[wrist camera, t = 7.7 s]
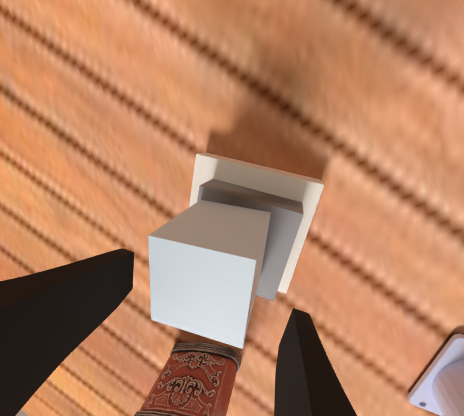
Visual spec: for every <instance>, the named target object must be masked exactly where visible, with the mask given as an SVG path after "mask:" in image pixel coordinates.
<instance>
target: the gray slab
mask: <svg viewBox="0 0 464 416" xmlns="http://www.w3.org/2000/svg"><path fill="white" fill-rule="evenodd" d="M199 200H205V201H211V202H216V203H222V204H227V205H233V206H239V207H244V208H250V209H255V210H261V211H266V212H271V216H270V222H269V228H268V234H267V240H266V246H265V252H264V258H263V264H262V271H261V276H260V280H259V284H258V288H257V293H256V295H257V296H260V297H263V298H265V299H268V300H271V301H274V299H275V296H276V293H277V290H278V287H279V285H280V282H281V279H282V276H283V273H284V270H285V267H286V264H287V261H288V258H289V255H290V253H291V250H292V247H293V244H294V241H295V238H296V235H297V232H298V229H299V226H300V223H301V221H302V218H303V215H304V213H303V204H302V202H299V201H295V200H291V199H287V198H284V197H280V196H276V195H273V194H269V193H265V192H261V191H258V190H254V189H250V188H246V187H243V186H239V185H235V184H232V183H228V182H224V181H220V180H217V179H211V180H209V181H207V182H205V183H203V184H201V185H200V186H199V192H198V199H197V202H198V201H199Z"/></svg>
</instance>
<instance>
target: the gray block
mask: <svg viewBox="0 0 464 416" xmlns="http://www.w3.org/2000/svg"><path fill="white" fill-rule="evenodd" d="M270 216H271V212H266V211H261V210H255V209H250V208H244V207H239V206H233V205H227V204H222V203H216V202H211V201H205V200H199V201H198V202H197V203H195V204H194V205H192V206H191V207H189V208H188V209H186V210H185V211H183V212H182V213H181V214H179V215H178V216H176V217H175V218H173V219H172V220H170V221H169V222H167V223H166V224H164V225H163V226H162V227H160V228H159V229H157V230H156V231H154V232H153V233H151V234H150V235H148V237H149V267H150V296H151V320H154V321H157V322H160V323H163V324H166V325H169V326H172V327H175V328H179V329H182V330H185V331H188V332H191V333H194V334H197V335H200V336H204V337H207V338H210V339H213V340H216V341H219V342H222V343H225V344H229V345H232V346H235V347H238V348H241V349H243V345H244V341H245V337H246V333H247V329H248V325H249V321H250V317H251V313H252V309H253V305H254V301H255V297H256V293H257V288H258V284H259V280H260V276H261V271H262V264H263V258H264V252H265V246H266V240H267V234H268V228H269V222H270Z"/></svg>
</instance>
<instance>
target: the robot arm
mask: <svg viewBox="0 0 464 416" xmlns="http://www.w3.org/2000/svg"><path fill="white" fill-rule="evenodd" d="M133 267H134V252H132V251H129V250H126V249H123V248H122V249H118V250H114V251H110V252H107V253H104V254H100V255H97V256H94V257H91V258H87V259H84V260H81V261H77V262H74V263H71V264H67V265H64V266H60V267H57V268H53V269H49V270H46V271H42V272H38V273H35V274H31V275H27V276H23V277H18V278H14V279H9V280H5V281H0V416H15V415H16V414H17V413H18V412H19V411H20V410H21V408H22V407H23V406H24V405H25V404H26V402H27V401H28V400H29V399H30V398H31V396H32V395H33V394H34V393H35V392H36V391H37V389H38V388H39V387H40V386H41V385H42V384H43V383H44V382H45V380H46V379H47V378H48V377H49V376H50V375H51V374H52V372H53V371H54V370H55V369H56V368H57V367H58V366H59V365H60V363H61V362H62V361H63V360H64V359H65V358H66V357H67V356H68V355H69V354H70V353H71V352H72V351H73V350H74V349H75V348H76V347H77V346H78V345H79V344H80V343H81V342H83V341H84V340H85V339H86V338H87V337H88V336H89V335H90V334H91V333H92V332H93V331H94V330H95V329H96V328H97V327H98V326H99V325H100V324H101V323H102V322H103V321H104V320H105V319H106V318H107V317H108V316H109V315H110V314H111V313H112V312H113V311H114V310H115V309H116V308H117V307H118V306H119V305H120V303H121V302H122V301H123V300H124V299H125V297H126V296H127V295H128V294H129V292H130V291H131V290H132V288H133ZM407 397H408V400H409V402H410V403H411V404H413V405H415V406H418V407H420V408H423V409H425V410H428V411H430V412H433V413H436V414H438V415H441V416H464V335H463V334H455V335H453V336H452V337H451V338H450V340H449V341H448V342H447V344H446V345H445V346H444V348H443V349H442V350H441V352H440V353H439V354H438V356H437V357H436V358H435V360H434V361H433V362H432V364H431V365H430V366H429V368H428V369H427V370H426V372H425V373H424V374H423V376H422V377H421V378H420V380H419V381H418V382H417V384H416V385H415V386H414V388H413V389H412V390H411V391H410V393H409V394H408V396H407ZM274 416H357V415H356V413H355V411H354V409H353V407H352V405H351V403H350V402H349V400H348V398H347V396H346V394H345V392H344V390H343V388H342V386H341V384H340V382H339V380H338V378H337V376H336V374H335V372H334V370H333V367H332V365H331V363H330V361H329V359H328V357H327V355H326V352H325V350H324V348H323V345H322V343H321V341H320V338H319V336H318V334H317V331H316V329H315V326H314V324H313V321H312V319H311V317H310V315H309V314H308V313H306V312H303V311H300V310H297V309H294V308H293V310H292V313H291V315H290V318H289V321H288V323H287V326H286V328H285V331H284V334H283V336H282V339H281V342H280V344H279V350H278V358H277V365H276V375H275V407H274Z"/></svg>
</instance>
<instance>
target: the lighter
mask: <svg viewBox="0 0 464 416" xmlns="http://www.w3.org/2000/svg"><path fill="white" fill-rule="evenodd" d="M240 364H241V358H240V355H239V354H238V353H237V352H236V351H235V350H234V349H231V348H228V347H223V346H219V345H214V344H208V343H192V342H189V343H178V344H176V345H175V346H174V347H173V349H172V351H171V352H170V358H169V359H168V361H167V363H166V365H165V366H164V368H163V370H162V372H161V373H160V375H159V377H158V379H157V381H156V382H155V384H154V386H153V388H152V389H151V391H150V393H149V395H148V396H147V398H146V400H145V402H144V404H143V405H142V407H141V409H140V411H137V412H136V413H135V415H134V416H226V413H227V409H228V405H229V401H230V397H231V393H232V389H233V385H234V381H235V377H236V374H237V373H238V371H239V368H240Z"/></svg>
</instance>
